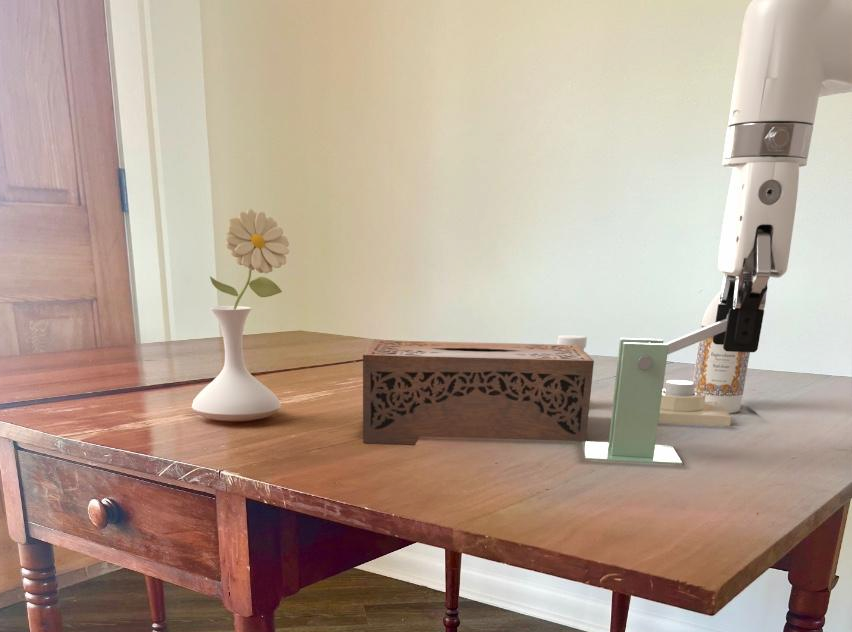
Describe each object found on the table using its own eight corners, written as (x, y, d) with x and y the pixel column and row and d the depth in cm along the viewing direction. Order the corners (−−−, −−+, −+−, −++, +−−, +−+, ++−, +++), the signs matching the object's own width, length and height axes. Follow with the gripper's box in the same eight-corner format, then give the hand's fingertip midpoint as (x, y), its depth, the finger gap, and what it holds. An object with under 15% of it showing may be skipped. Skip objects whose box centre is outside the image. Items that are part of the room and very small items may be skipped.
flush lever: (743, 325, 90) (737, 303, 89) (754, 330, 86) (747, 307, 85) (629, 371, 94) (622, 350, 93) (634, 378, 89) (626, 356, 88)
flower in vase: (192, 429, 106) (174, 206, 97) (193, 411, 117) (177, 208, 107) (298, 426, 109) (291, 209, 99) (290, 409, 119) (283, 210, 109)
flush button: (690, 394, 115) (692, 380, 114) (694, 398, 111) (697, 385, 111) (662, 392, 115) (664, 379, 115) (666, 397, 112) (668, 383, 111)
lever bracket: (670, 455, 98) (687, 338, 93) (681, 474, 91) (699, 347, 86) (581, 451, 99) (592, 335, 94) (584, 468, 92) (597, 344, 87)
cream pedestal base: (714, 418, 119) (719, 388, 117) (729, 433, 109) (734, 401, 108) (625, 414, 120) (628, 384, 119) (632, 428, 111) (635, 397, 109)
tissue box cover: (363, 443, 101) (362, 355, 97) (374, 418, 114) (374, 340, 111) (584, 449, 100) (593, 360, 96) (570, 424, 113) (577, 344, 109)
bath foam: (687, 412, 122) (709, 260, 114) (690, 404, 128) (711, 258, 120) (739, 416, 120) (765, 261, 112) (740, 407, 126) (765, 260, 118)
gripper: (836, 140, 73) (794, 360, 81) (784, 156, 89) (753, 339, 96) (744, 140, 74) (710, 357, 82) (709, 155, 90) (683, 337, 97)
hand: (734, 345), depth 89 cm, fingers closed on flush lever, 5 cm apart
